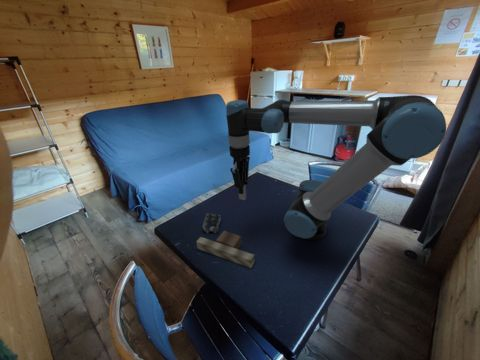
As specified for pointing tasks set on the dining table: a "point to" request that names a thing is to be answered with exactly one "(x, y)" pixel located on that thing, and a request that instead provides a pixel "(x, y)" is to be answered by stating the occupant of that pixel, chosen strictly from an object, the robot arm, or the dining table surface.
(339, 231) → the dining table surface
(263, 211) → the dining table surface
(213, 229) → the egg carton
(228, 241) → the block
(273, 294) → the dining table surface
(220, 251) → the board
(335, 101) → the robot arm
